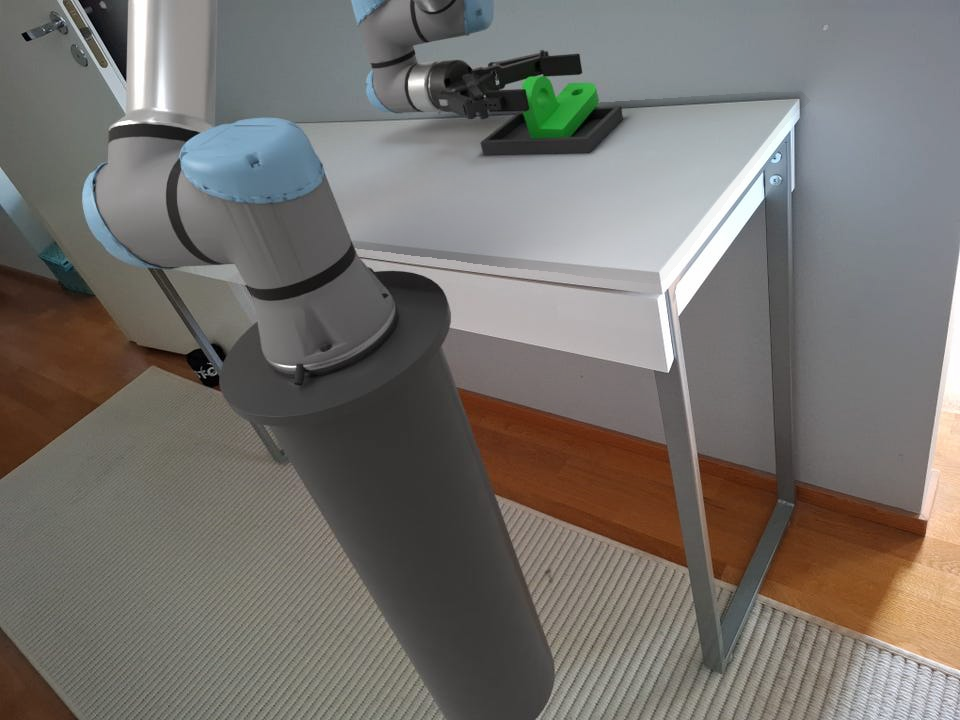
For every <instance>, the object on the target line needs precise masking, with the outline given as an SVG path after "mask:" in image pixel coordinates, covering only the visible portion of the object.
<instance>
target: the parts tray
mask: <svg viewBox="0 0 960 720" xmlns="http://www.w3.org/2000/svg"><path fill="white" fill-rule="evenodd" d="M623 120H624V116H623V107H622V105H610V106H596V107H595V108H594V110H593V111H592V112H591V113H590V114H589V116H588V117H587V118H586V119H585V120H584V121H583V123H582V124H581V125H580V126H579V127H578V129H577V130H576V131H575V132H574V133H573V134H572V136H571V137H557V138H531V136H530V133H529V130H528V127H527V124H526V121H525V118H524V115H523V112H522V111H520V112H517V113H515V114H514V115H513V116H511V117H510V118H509V119H507V120H506V121H505V122H504V123H502V124H501V125H500V126H499V127H498V128H497V129H495V130H493V132H492V133H490V134H489V135H487V136H486V137H485V138H484V139H482V141H480V146H481V151H482V154H483V156H498V155H499V156H502V155H504V156H505V155H506V156H507V155H544V154H545V155H549V154H587V153H588V154H591V152H592V151H593V150H594V149H595V148H596V147H597V146H598V145H599V144H600V143H601V142H602V141H603V140H604V139H605V138H606V137H607V136H608V135H609V134H610V133H611V132H612V131H613V130H614V129H615V128H616V127H617V126H618V125H619V124H620V123H621V122H622V121H623Z"/></svg>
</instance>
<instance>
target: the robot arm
mask: <svg viewBox="0 0 960 720" xmlns="http://www.w3.org/2000/svg"><path fill="white" fill-rule="evenodd" d="M218 2H219V1H218V0H128V1H127V39H126V40H127V41H126V45H127V46H126V49H127V50H126V83H125V85H126V87H125V89H126V91H125V95H126V96H125V115H124V116H123V117H121V118H120V119H119V120H117V121H115V122H114V123H113V124H111V125H110V126H109V128H108V139H107V140H108V142H107V143H108V144H107V145H108V146H107V161H105V162H102V163H100V164H99V165H98V166H96V167H95V168H94V170H93V171H91V172H90V173H89V174H88V176H87V177H86V179H85V181H84V184H83V188H82V193H81V203H82V209H83V214H84V217H85V221H86V223H87V225H88V228H89V230H90V231H91V233H92V235H93V236H94V238H95V239H96V240H97V241H98V242H100V244H101V245H102V246H103V248H105V250H106V251H107V252H108V253H109V254H111V255H112V256H113V257H114V258H116V259H118V260H119V261H122V263H125V264H128V265H130V266H134V267H137V268H146V269H147V268H149V269H161V270H165V271H170V270H174V269H178V268H179V269H180V268H184V267H203V266H204V267H205V266H222V265H234V266H235V267H236V269H237V271H238V273H239V275H240V276H241V278H242V280H243V283H244V285H246V287H247V290H248V291H249V294H250V295H251V297H252V299H253V302H254V309H255V316H256V322H258V328H259V334H260V339H261V341H260V342H261V348H262V352H263V354H264V356H265V358H266V360H267V362H268V363H269V365H270V367H271V368H272V370H274V371H275V372H276V373H277V374H280V375H282V376H285V377H289V378H295V379H294V384H295V385H298V386H302V385H303V382H304V378H313V377H319V376H324V375H327V374H331V373H334V372H337V371H340V370H342V369H345V368H347V367H349V366H351V365H354V364H355V363H357V362H359V361H361V360H363V359H364V358H366V357H367V356H369V355H370V354H372V353H373V352H374V351H376V350H377V349H378V348H379V347H380V346H382V345H383V344H384V343H385V342H386V341H387V339H388V338H389V337H390V336H391V334H392V333H393V331H394V330H395V328H396V326H397V323H398V317H399V315H398V310H397V307H396V305H395V302H394V300H393V297H392V295H391V294H390V293H389V291H388V290H387V289H386V288H385V287H384V286H383V284H382V283H381V282H380V281H379V280H378V279H377V277H376V276H375V275H377V274H376V273H375V272H376V271H375V270H374V269H373V268H372V267H369V266H368V265H366V263H364V261H363V260H362V259H361V258H360V257H359V255H358V252H357V251H356V248H355V246H354V243H353V241H352V238H351V236H350V233H349V231H348V228H347V226H346V222H345V221H344V218H343V216H342V213H341V210H340V208H339V206H338V203H337V200H336V198H335V195H334V193H333V191H332V188H331V185H330V183H329V181H328V178H327V175H326V173H325V167H324V165H323V162H322V160H321V159H320V157H319V156H318V154H317V153H316V151H315V149H314V147H313V145H312V142H311V141H310V139H309V136H308V135H307V134H306V133H305V131H304V130H303V129H302V128H301V127H300V126H299V125H298V124H296V123H294V122H292V121H291V120H287V119H283V118H279V117H253V118H245V119H240V120H236V121H235V122H232V123H223V124H219V125H216V100H217V99H216V98H217V95H216V93H217V49H218V47H217V45H218V5H219V4H218ZM350 2H351V6H352V10H353V13H354V17H355V21H356V22H355V23H356V27H358V30H359V33H360V36H361V39H362V42H363V45H364V48H365V51H366V54H367V56H368V59H369V62H370V65H371V70H370V71H369V72H368V74H367V76H366V79H365V84H366V88H365V93H366V94H365V95H366V96H367V100H368V101H369V103H370V104H371V106H373V108H375V109H376V110H378V111H380V112H383V113H392V114H396V115H397V114H407V113H434V114H435V115H437V116H438V115H441V113H443V112H445V113H454V114H456V115H458V116H461V117H462V118H465V119H467V120H473V119H475V118H477V114H478V115H479V119H480V120H486V119H488V118H489V113H510V112H511V113H512V112H513V113H514V112H517V113H518V112H522V111H528V110H529V104H528V99H527V94H526V89H521V88H517V89H515V88H513V89H504V88H505V87H506V85H509V84H513V83H516V82H521V81H525V80H526V79H527V78H528V77H535V76H545V77H547V78H548V77H564V76H580V75H582V74H583V68H582V67H583V66H582V61H581V54H580V53H571V54H570V53H569V54H556V55H555V54H554V55H549V51H548V50H545V49H540V50H539V52H537V53H533V54H532V53H531V54H528V55H524V56H519V57H518V56H517V57H514V58H510V59H506V60H505V59H504V60H499V61H491V62H489V63H487V66H486V67H483V66H480V67H475V68H472V67H471V66H470V65H469V64H468V63H467V62H466V61H464V60H462V59H449V60H435V61H424V62H418V59H417V56H416V51H415V48H414V47H415V46H418V45H423V44H427V43H432V42H437V41H443V40H448V39H454V38H459V37H464V36H466V37H469V36H470V35H472V34H476V33H478V32H483V31H486V30H488V29H489V28H490V27H491V25H492V23H493V20H494V11H495V4H494V0H350ZM497 81H498V84H497ZM488 111H489V113H488ZM374 274H375V275H374Z"/></svg>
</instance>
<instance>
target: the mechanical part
mask: <svg viewBox="0 0 960 720" xmlns="http://www.w3.org/2000/svg"><path fill="white" fill-rule="evenodd" d="M520 89H526V94H527V99H528V104H529V110H528V111H521V112H523V115H524V118H525V121H526V124H527V127H528V130H529V133H530V136H531V138H557V137H571V136H572V134H573V133H574V132H575V131H576V130H577V129H578V127H579V126H580V125H581V124H582V123H583V121H584V120H585V119H586V118H587V117H588V116H589V114H590V113H591V112H592V111H593V110H594V108H595V107H598V105H599V102H600V99H599V94H598V90H597V85H595V84H594V83H592V82H569V83H567V84H566V86H565V87H563V89H562V90H561V91H560V92H559V93H558V94H557V95H556V93H555V90H554V86H553V84H552V81H551V80H550V79H549V77H548V76H547V77H545V76H543V75H539V76H535V77H528V78H527V79H524V80H523V83H522V85H521V87H520Z"/></svg>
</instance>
